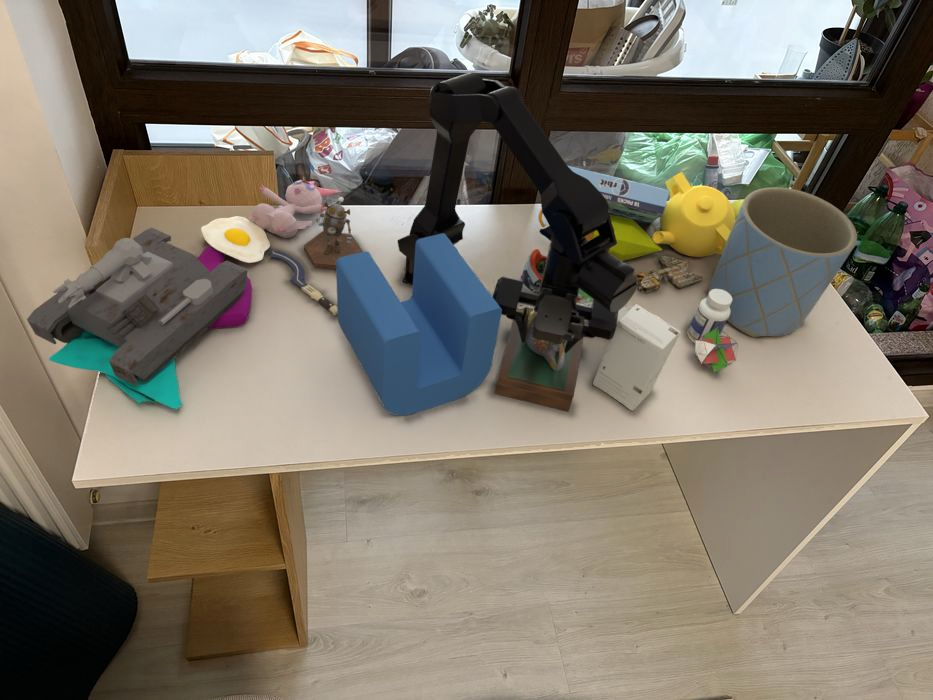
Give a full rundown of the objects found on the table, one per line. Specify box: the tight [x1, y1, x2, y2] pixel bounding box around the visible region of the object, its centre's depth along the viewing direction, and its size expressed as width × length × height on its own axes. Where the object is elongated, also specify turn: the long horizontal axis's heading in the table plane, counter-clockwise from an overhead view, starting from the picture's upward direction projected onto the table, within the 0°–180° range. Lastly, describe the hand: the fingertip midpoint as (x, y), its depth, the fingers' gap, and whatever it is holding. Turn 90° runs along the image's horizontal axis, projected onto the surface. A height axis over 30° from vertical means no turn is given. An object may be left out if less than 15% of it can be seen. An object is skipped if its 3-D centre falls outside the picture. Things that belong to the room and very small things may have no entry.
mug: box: [525, 310, 567, 371], centre depth 115 cm, size 12×7×7 cm, turn 7°
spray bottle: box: [196, 233, 253, 330], centre depth 126 cm, size 3×11×24 cm
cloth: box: [48, 330, 183, 410], centre depth 112 cm, size 26×14×2 cm, turn 66°
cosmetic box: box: [592, 303, 682, 411], centre depth 115 cm, size 8×6×15 cm
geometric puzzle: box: [693, 327, 739, 374], centre depth 124 cm, size 7×7×8 cm
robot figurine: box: [303, 196, 364, 270], centre depth 131 cm, size 11×9×12 cm
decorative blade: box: [269, 248, 338, 316], centre depth 130 cm, size 21×1×5 cm
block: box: [335, 233, 502, 416], centre depth 112 cm, size 18×18×18 cm
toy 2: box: [248, 179, 343, 239], centre depth 140 cm, size 15×7×20 cm
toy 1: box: [26, 227, 249, 386], centre depth 111 cm, size 25×20×15 cm
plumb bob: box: [538, 208, 663, 262], centre depth 141 cm, size 9×9×25 cm
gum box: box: [567, 165, 670, 223], centre depth 143 cm, size 20×5×23 cm
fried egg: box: [200, 215, 271, 264], centre depth 132 cm, size 12×12×1 cm
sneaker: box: [519, 248, 630, 323], centre depth 128 cm, size 8×21×10 cm, turn 60°
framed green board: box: [493, 320, 585, 413], centre depth 119 cm, size 12×14×4 cm
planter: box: [707, 187, 858, 338], centre depth 130 cm, size 19×19×20 cm
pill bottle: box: [686, 289, 732, 344], centre depth 127 cm, size 5×5×10 cm
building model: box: [635, 255, 704, 294], centre depth 140 cm, size 15×9×2 cm, turn 128°
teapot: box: [652, 171, 735, 258], centre depth 143 cm, size 20×18×11 cm
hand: (544, 345), depth 117 cm, fingers closed on mug, 6 cm apart
